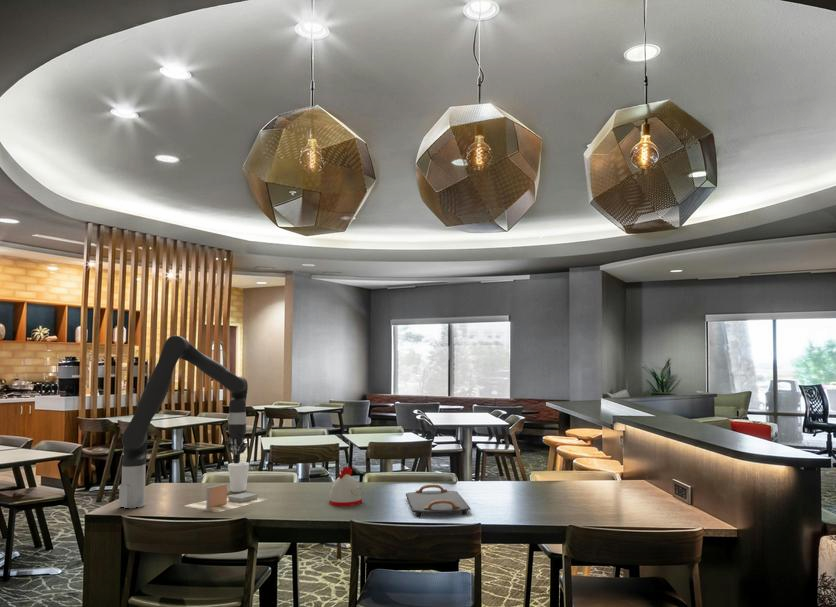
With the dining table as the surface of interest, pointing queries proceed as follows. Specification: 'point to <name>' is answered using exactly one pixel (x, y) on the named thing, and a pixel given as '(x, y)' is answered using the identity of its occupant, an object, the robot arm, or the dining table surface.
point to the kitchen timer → (345, 490)
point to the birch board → (223, 507)
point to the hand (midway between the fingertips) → (236, 463)
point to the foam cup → (238, 476)
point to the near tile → (216, 495)
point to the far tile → (242, 497)
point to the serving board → (436, 501)
